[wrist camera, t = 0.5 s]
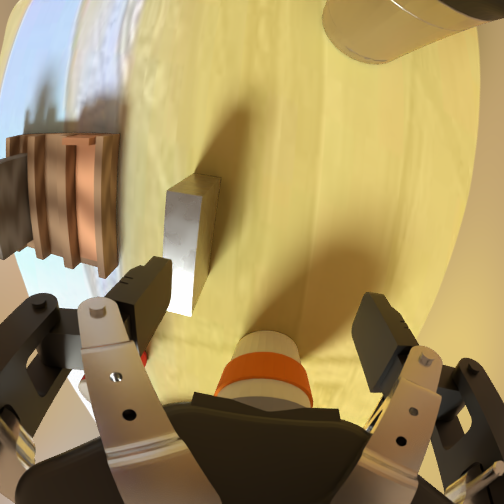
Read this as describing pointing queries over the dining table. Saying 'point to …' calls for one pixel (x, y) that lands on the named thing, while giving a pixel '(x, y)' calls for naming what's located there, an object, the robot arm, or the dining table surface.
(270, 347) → the reusable coffee cup
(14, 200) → the rack
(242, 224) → the dining table surface
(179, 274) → the panel
